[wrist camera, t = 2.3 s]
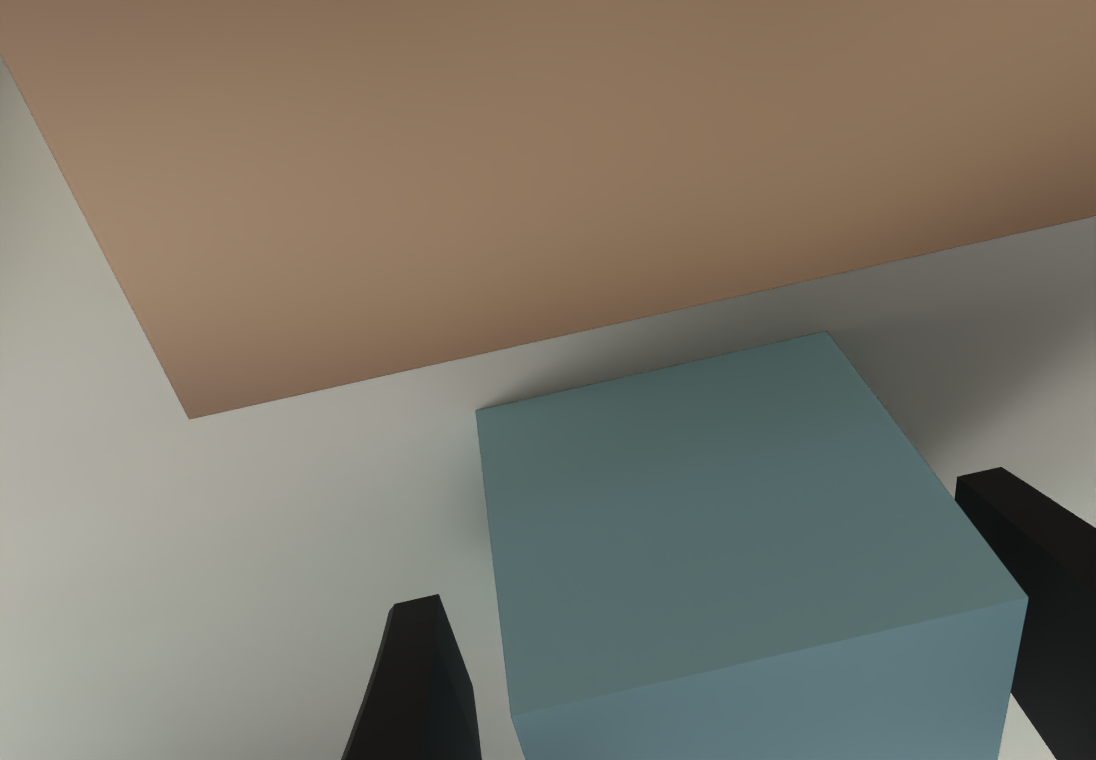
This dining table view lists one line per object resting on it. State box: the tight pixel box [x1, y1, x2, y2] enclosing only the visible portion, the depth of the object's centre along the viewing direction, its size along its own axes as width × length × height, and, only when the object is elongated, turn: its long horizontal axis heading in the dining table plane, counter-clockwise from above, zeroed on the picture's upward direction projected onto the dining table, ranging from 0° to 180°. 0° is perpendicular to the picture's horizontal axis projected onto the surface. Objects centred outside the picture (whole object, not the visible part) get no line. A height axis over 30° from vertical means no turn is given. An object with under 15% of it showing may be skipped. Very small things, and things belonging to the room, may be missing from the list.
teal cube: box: [476, 331, 1028, 760], centre depth 12 cm, size 5×5×5 cm
